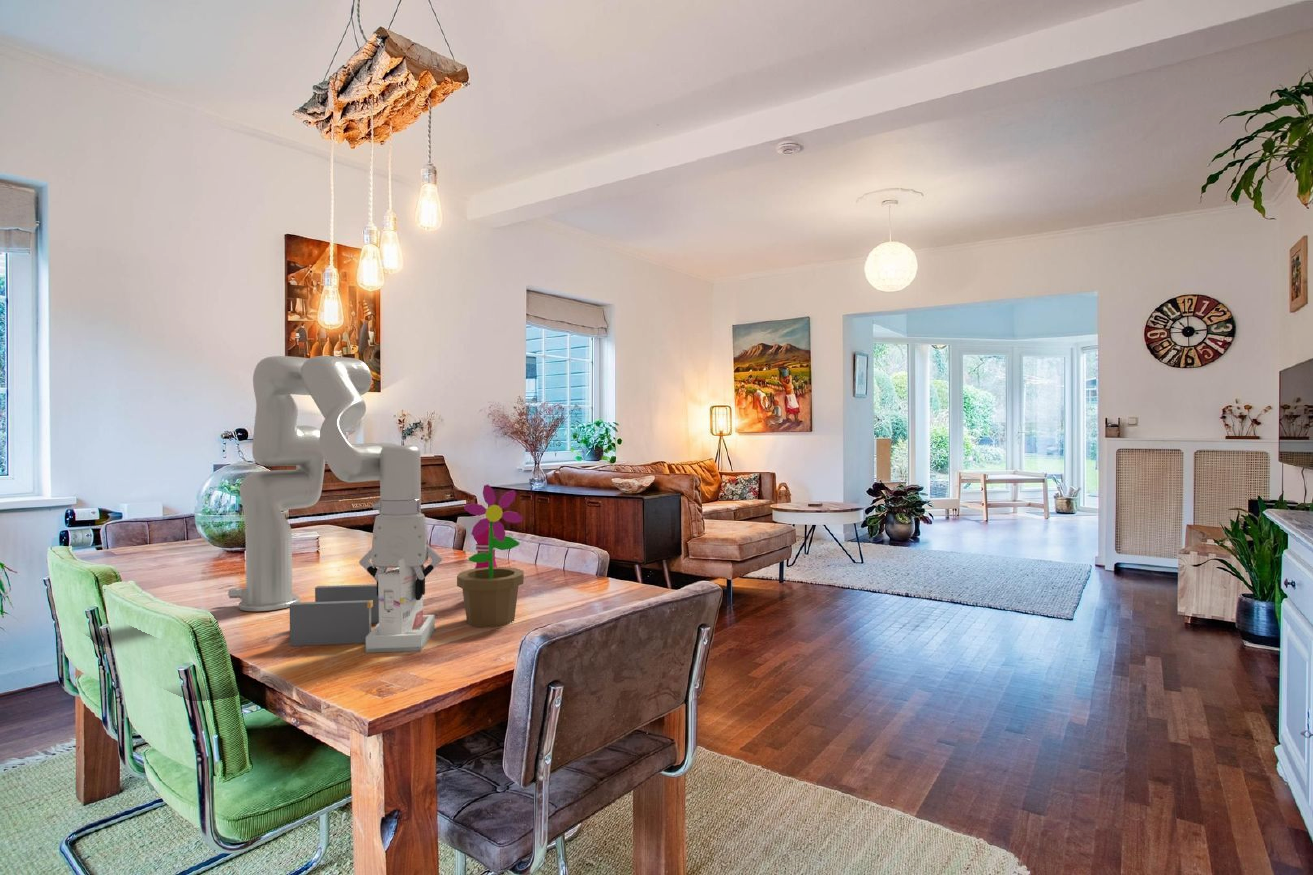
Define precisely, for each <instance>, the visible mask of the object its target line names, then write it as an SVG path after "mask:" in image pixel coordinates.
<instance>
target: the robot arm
mask: <svg viewBox="0 0 1313 875" xmlns="http://www.w3.org/2000/svg"><path fill="white" fill-rule="evenodd" d="M371 372H372V371H371V370H370V368H369V366H368V365H367V364H366V363H365V362H364V361H363V360H360V359H358V358H354V357H344V356H343V357H342V356H334V355H333V356H332V355H331V356H330V355H318V356H317V355H316V356H313V357H310V358H309V357H302V356H301V357H299V356H289V355H273V356H267V357H264V358H263V359H260V361H259V362H257V364H256V365H255V368H254V370H253V374H252V375H253V376H252V383H253V384H252V385H253V386H252V387H253V393H254V396H255V404H256V405H255V416H254V426H253V427H254V428H253V438H252V447H251V448H252V449H251V450H252V459H253V460H254V462H256V463H257V464H258V465H260V466H265V467H288V466H290V467H291V466H292V467H293V466H296V469H278V470H277V469H276V470H275V469H274V470H262V471H257V472H253V473H250V474H248V475H247V476H245V477H244V478H243V479H242V481H241V483H240V486H239V496H240V500H241V505H242V510H243V516H244V528H245V529H244V533H245V581H246V582H245V583H246V584H245V587H243V588H230V589H228V593H227V594H228V598H229V599H240V600H241V601H239V603H238V608H239V610H240V611H245V612H268V611H276V610H281V609H286V608H290V604H292V603H299V602H300V600H301V598H300V596H299V595H297V594H293V551H292V550H293V547H292V546H293V545H292V544H293V541H292V540H293V539H292V538H293V537H292V534H293V533H292V532H293V531H292V528H291V525H290V523H289V521H288V520H287V519H286V517H285V516H284V515H283V514H282V511H286V510H297V509H304V508H305V509H307V508H310V507H313V506H315V505H316V504H317V503H318V502H319V500H320V498H321V495H322V490H323V483H324V476H325V467H326V464H327V466H328V467H329V469H330V471H331V472H332V474H334V476H335V477H336V478H338V479H339V480H340V481H343V482H345V483H361V482H372V481H373V482H374V481H375V482H376V481H379V486H380V488H379V492H380V494H379V495H380V496H379V497H380V498H379V500H378V501H377V502H373V503H372V505H371V506H372V509H373V510H376V511H378V512H379V515H376V516H375V518H374V524H373V530H372V540H371V549H369V551H367V553H366V554H364V556H363V557H362V558H360V560H359V561H358V563H359V565H360V566H361V567H362V568H363V569H364V570H366V571H367V573H369V574H370V575H371V577H372V578H373V579H374V580H375V581H376V584H377V596H378V575H379V574H382V573H385V572H387V571H388V570H387V569H388V568H393V569H395V568H398V567H399V560H400V559H403V558H404V560H405V566H406V567H414V569H415V572H416V574H417V580H416V581H415V599H416V600H420V599H421V598H422V595H423V596H425V595H426V577H427V576H428V575H429V574H430V573H431V572H433V570H434V569H435V568H436V567H438V565H439V564H440V563H441V562H442V561H443V558H442V556H440V554H438V553H437V552H436V551H435V550H434V549H433V548H432V547H431V546H430V545H429V536H428V529H427V522H426V516H425V513H422V498H421V496H422V489H421V488H422V479H421V478H422V472H421V470H422V468H421V467H422V464H421V463H422V461H421V457H422V456H421V450H420V448H419V447H418V446H416V445H407V444H405V445H403V444H402V445H398V444H395V443H389V442H386V443H384V442H382V443H375V442H374V443H373V442H372V443H350V442H349V441H348V440H347V438H346V436H345V435H344V434H343V431H344V430H347V429H349V428H350V427H351V428H352V427H353V426H355V425H356V424H357V423H358V422H359V421H360V420H362V419H363V417H364V416H365V414H366V411H367V405H366V402H365V400H364V399H363V397H362V396H363V395H365V394H367V393H368V392H369V390H370V389H371V386H372V383H373V376H372V373H371ZM292 395H299V396H301V395H302V396H310V397H311V398H312V399H313V402H314V404H315V405H316V407H317V408H318V410H319V411H320V414H321V415H322V417H323V418H324V421H323V422H322V424H321V427H320V429H319V428H318V427H315V426H312V425H297V423H298V421H297V420H298V413H299V412H298V410H299V409H298V406H297V403H296V401H295V399H294V398H293V396H292ZM429 558H430V559H431V562H430V563H429V564H428V565H427V566H426V567H425V566H424V564H425V563H426V561H428V559H429Z"/></svg>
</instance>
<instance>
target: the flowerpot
mask: <svg viewBox="0 0 1313 875" xmlns="http://www.w3.org/2000/svg"><path fill="white" fill-rule="evenodd" d="M495 495H496V494H495V490H494V489H493V488H492V487H491V486H490V485H489V484H484V485H483V489H482V496H483V499H484V502H485V503H486V504H487V505H488V506H487V508H486V507H484V506H483V505H482V504H479V503H473V502H472V503H468V504H465V505H464V508H463V509H464V510H465V511H466V512H468V513H469V514H470V515H475V516H482V515H483V516H484V515H485V517H486V518H485V517H483V518H484V519H483V518H482V519H480V520H478V521H477V522H476V523H475V524H474V525H473V527H472V531H471V532H470V534H471V535H472V537H473V538H474V537H475V536H478V535H480V534H482V533H483V532H484V531H485V530H486V529H487V528H488V526H489V524H490V526H489V553H483V552H482V553H477V552H476V553H475V554H473V555H471V556H469V557H468V561H469V562H473V563H476V564H477V563H483V562H486V561H488V560H489V567H485V568H477V569H475V568H471V569H468V570H464V571H461V572H459V573H458V574H457V576H456V587H459V588H460V589H462V596H463V604H464V609H465V610H464V611H465V617H466V618H465V619H466V624H468V625H470V626H471V625H472V626H471V627H476V626H477V627H478V628H497V627H502V626H507V625H509V624H511V623H513V622H512V621H514V622H515V619H516V618H515V617H516V612H517V610H516V609H517V600H518V594H519V586H522V585H524V582H525V580H524V579H525V577H524V576H525V574H524V573H525V572H524V571H525V570H523V569H519V568H516V567H509V566H507V567H505V566H497V567H493V547H494V548H497V549H496V550H501V551H506V550H512V549H514V548H515V547H517V546H519V545H520V542H519V541H518V540H517V539H515V538H514V537H512V536H508V535H506V530H505V527H504V526H505V525H504V524H503V523H502V522H501V521H500V519H503V520H504V521H505V522H508V523H511V524H517V523H520V522H523V519H524V517H523V516H522V515H521V514H519V513H518V512H515V511H510V510H507V511H504V512H503V509H505V508H508V507H509V506H510V505H511V504H512V503H513V502H514V501H515V498H516V495H517V492H516V490H514V489H513V490H510V491H508V492H505V494H503V495H502V496H501V497H500V498H499V501H498V504H495V503H496V499H497V498H496V496H495ZM493 532H494V536H495V538H493ZM510 622H511V623H510ZM501 625H502V626H501ZM496 626H497V627H496Z"/></svg>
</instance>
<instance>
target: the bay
mask: <svg viewBox="0 0 1313 875" xmlns="http://www.w3.org/2000/svg"><path fill="white" fill-rule="evenodd" d="M378 623H379V597H378V596H377V583H375V584H373V583H372V584H347V585H346V584H345V585H339V584H338V585H317V586H316V587H314V601H303V602H299V603H292V604H290V607H289V646H290V647H300V646H302V647H304V646H329V645H349V644H351V645H352V644H353V645H354V644H366V636H367V635H368V634H369V633H370V632H371V631H372V624H378Z"/></svg>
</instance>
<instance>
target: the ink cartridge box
mask: <svg viewBox="0 0 1313 875" xmlns="http://www.w3.org/2000/svg"><path fill="white" fill-rule="evenodd" d="M416 580H417V574H416V572H415V569H414V567H406V566H405V560H404V558H403V559H400V560H399V567H397V568H393V569H390V570H386V572H385V573H382V574H379V575H378V597H379V634H383V635H393V634H405V633H407V632H408V631H410V630H412V629H414V628H416V627H417V626H419V625H421V624H422V623H423V615H424V595H422V598H421V599H420V600H416V599H415V581H416Z"/></svg>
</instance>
